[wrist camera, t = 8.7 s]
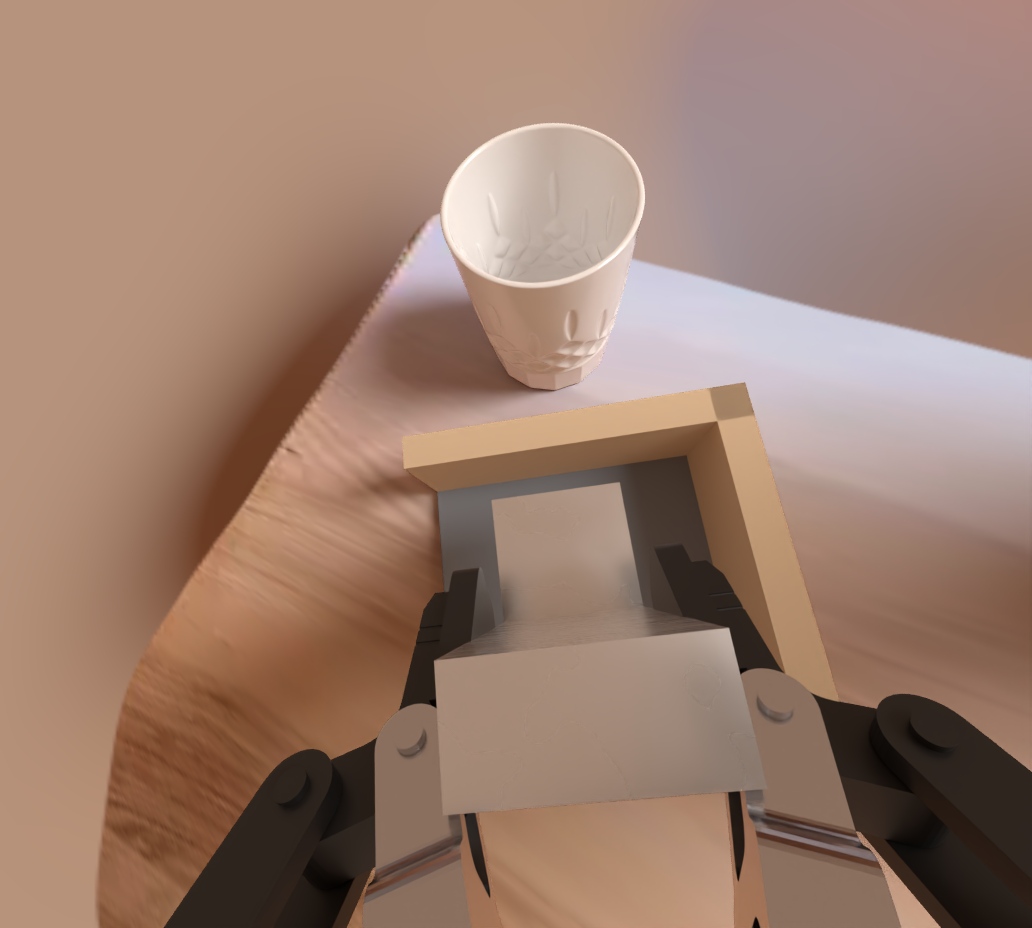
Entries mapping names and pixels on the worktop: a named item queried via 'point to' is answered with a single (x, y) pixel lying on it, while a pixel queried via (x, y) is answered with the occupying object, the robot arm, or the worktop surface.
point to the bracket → (586, 676)
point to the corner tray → (640, 499)
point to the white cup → (545, 245)
